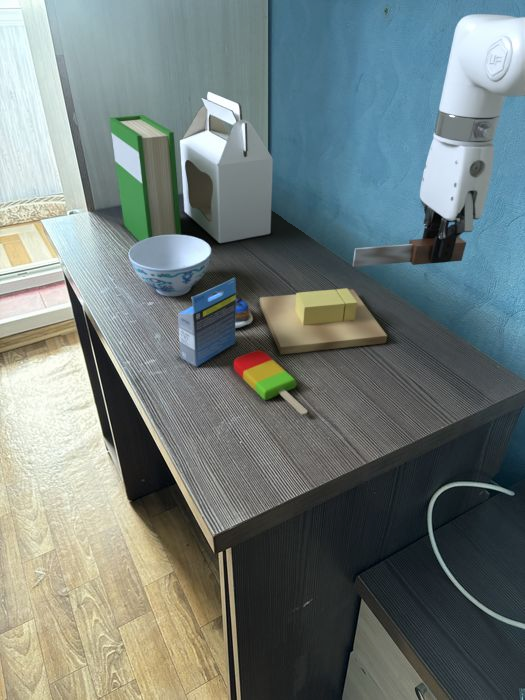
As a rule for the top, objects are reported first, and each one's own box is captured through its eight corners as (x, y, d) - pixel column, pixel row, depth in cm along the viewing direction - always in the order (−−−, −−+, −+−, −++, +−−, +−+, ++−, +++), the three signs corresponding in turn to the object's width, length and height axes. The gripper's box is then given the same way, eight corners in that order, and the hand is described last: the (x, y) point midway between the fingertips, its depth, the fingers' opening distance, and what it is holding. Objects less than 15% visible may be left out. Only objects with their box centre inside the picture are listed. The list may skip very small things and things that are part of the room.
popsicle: (260, 357, 82) (260, 347, 81) (320, 411, 72) (322, 401, 71) (230, 368, 79) (230, 358, 78) (289, 426, 69) (289, 416, 68)
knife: (453, 254, 80) (458, 236, 78) (461, 261, 78) (466, 242, 76) (349, 262, 77) (352, 243, 75) (355, 270, 75) (358, 250, 73)
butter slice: (344, 305, 92) (347, 288, 90) (354, 320, 89) (357, 302, 86) (334, 306, 92) (336, 289, 90) (343, 321, 88) (346, 303, 86)
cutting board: (352, 296, 98) (353, 289, 98) (385, 343, 86) (387, 335, 85) (259, 304, 95) (259, 297, 94) (280, 354, 82) (280, 347, 82)
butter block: (333, 306, 92) (335, 289, 90) (342, 321, 88) (344, 303, 86) (295, 310, 91) (296, 292, 89) (303, 325, 87) (304, 307, 85)
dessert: (263, 312, 91) (250, 295, 86) (246, 344, 90) (231, 329, 85) (228, 301, 95) (214, 284, 90) (211, 331, 94) (195, 316, 89)
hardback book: (182, 246, 115) (173, 132, 101) (150, 253, 112) (137, 136, 98) (153, 220, 127) (142, 114, 113) (124, 225, 124) (109, 117, 110)
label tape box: (219, 335, 87) (217, 268, 79) (237, 344, 84) (236, 277, 77) (179, 358, 81) (173, 288, 74) (197, 369, 79) (192, 298, 72)
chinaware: (228, 286, 100) (228, 249, 96) (171, 317, 91) (167, 277, 86) (175, 263, 108) (172, 228, 104) (117, 289, 98) (111, 252, 94)
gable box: (183, 211, 132) (175, 90, 116) (230, 204, 137) (229, 87, 121) (219, 244, 116) (216, 109, 100) (271, 234, 122) (275, 104, 105)
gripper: (529, 142, 62) (486, 280, 72) (458, 113, 74) (431, 234, 85) (473, 144, 60) (438, 284, 71) (411, 115, 73) (389, 237, 84)
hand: (434, 256), depth 78 cm, fingers closed on knife, 2 cm apart
